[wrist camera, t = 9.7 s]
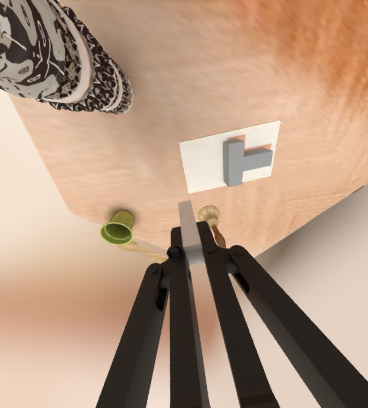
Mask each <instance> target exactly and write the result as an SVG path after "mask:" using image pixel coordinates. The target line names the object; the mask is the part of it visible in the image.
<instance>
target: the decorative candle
mask: <svg viewBox="0 0 368 408" xmlns="http://www.w3.org/2000/svg"><path fill="white" fill-rule="evenodd" d="M0 89H2V90H4V91H7V92H9V93H11V94H13V95H15V96H18V97H24V98H35V99H36V100H37V101H39V102H42V103H46V102H49V104H50V105H51V106H52V107H54V108H55V109H58V110H61V109H65V110H67V109H68V110H70V111H77V112H79V111H82V110H84V111H89V112H92V111H94V110H96V111H100V112H106V113H112V114H123V113H125V112H127V111H128V110H129V109H130V108H131V106H132V103H133V99H134V95H133V88H132V85H131V83H130V81H129V79H128V77H127V76H126V75H125V74H124V72H123V71H122V69H121V68H120V67H119V66H118V65H117V64H116V63H115V62H114V61H113V59H112V58H109V57H108V54H107V53H106V52H105V51H103V48H102V47H101V46H100V45H99V43H98V42H97V40H96V38H95V37H94V36H92V35H91V33H90V32H89V30H88V29H87V27H86V26H85V25H84V24H83V22H82V21H80V20H77V18H76V15H75V13H74V12H73V11H72V9H71V8H69V7H63V8H62V7H61V5H60V4H59V2H58V1H57V0H0ZM72 102H73V103H72Z"/></svg>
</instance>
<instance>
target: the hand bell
mask: <svg viewBox="0 0 368 408" xmlns="http://www.w3.org/2000/svg"><path fill="white" fill-rule="evenodd" d="M218 217H219V210H218V209H217V208H216V207H214V206H207V207H204V208H203V209H201V210H200V212H199V214H198V219H199V221H200V222H201V221H206V222H207V223H208V224H209V227H210V228H212V229H213V231H214V234H215V240H216V242H217V244H218V245H219V247H221V248H226V244H225V239H224V237H223V236H222V234H221V233H220V232H219V231H218V229H217V225H218V223H219V222H218Z"/></svg>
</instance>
